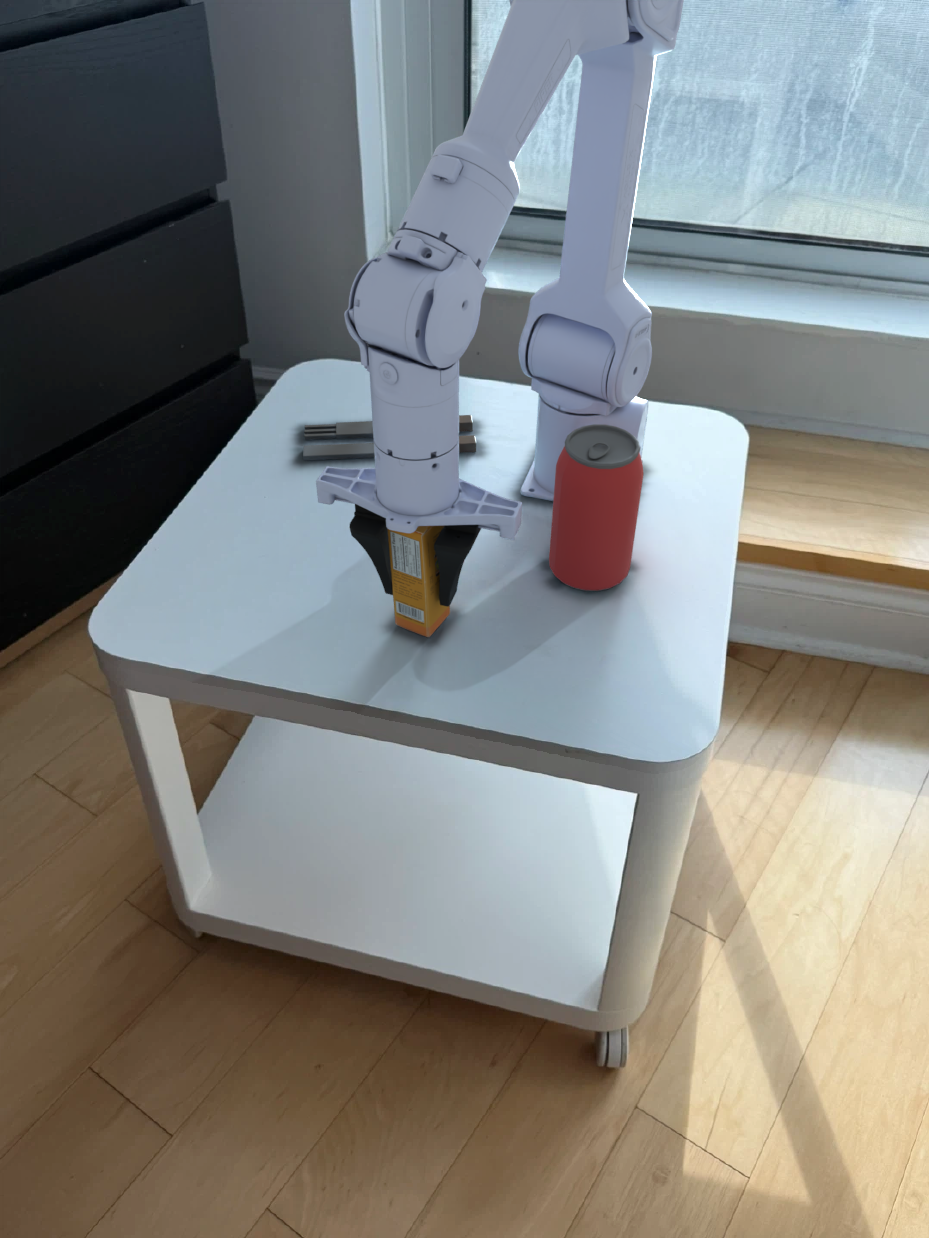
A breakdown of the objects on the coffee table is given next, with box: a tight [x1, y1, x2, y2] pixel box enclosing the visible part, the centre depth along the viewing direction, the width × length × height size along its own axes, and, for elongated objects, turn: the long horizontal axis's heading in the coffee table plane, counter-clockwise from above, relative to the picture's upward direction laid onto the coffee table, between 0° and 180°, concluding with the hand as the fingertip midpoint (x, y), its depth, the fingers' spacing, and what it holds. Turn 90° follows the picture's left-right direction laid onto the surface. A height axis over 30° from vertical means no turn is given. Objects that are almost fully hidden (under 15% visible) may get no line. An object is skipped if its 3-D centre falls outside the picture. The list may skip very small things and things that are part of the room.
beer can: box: [548, 424, 645, 592], centre depth 83 cm, size 7×7×12 cm
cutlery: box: [302, 414, 477, 461], centre depth 101 cm, size 16×6×1 cm, turn 95°
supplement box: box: [387, 525, 451, 638], centre depth 79 cm, size 3×3×10 cm
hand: (420, 591), depth 80 cm, fingers closed on supplement box, 4 cm apart
